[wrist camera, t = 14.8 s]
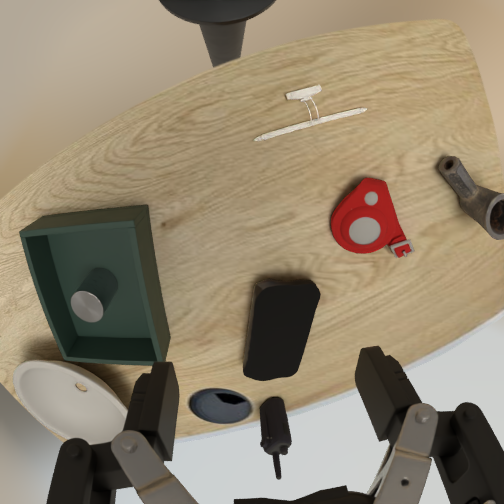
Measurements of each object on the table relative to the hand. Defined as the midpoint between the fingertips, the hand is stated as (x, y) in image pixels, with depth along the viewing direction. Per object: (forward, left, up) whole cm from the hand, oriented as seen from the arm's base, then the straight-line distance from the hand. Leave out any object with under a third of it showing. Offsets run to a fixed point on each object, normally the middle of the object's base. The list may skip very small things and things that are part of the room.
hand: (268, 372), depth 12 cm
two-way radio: (+35, +3, -26) cm, 44 cm away
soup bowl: (+31, -31, -26) cm, 51 cm away
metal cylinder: (+9, -19, -25) cm, 33 cm away
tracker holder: (+3, +16, -26) cm, 31 cm away
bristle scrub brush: (+17, +4, -26) cm, 32 cm away
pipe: (-2, +31, -26) cm, 41 cm away
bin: (+9, -19, -26) cm, 34 cm away
